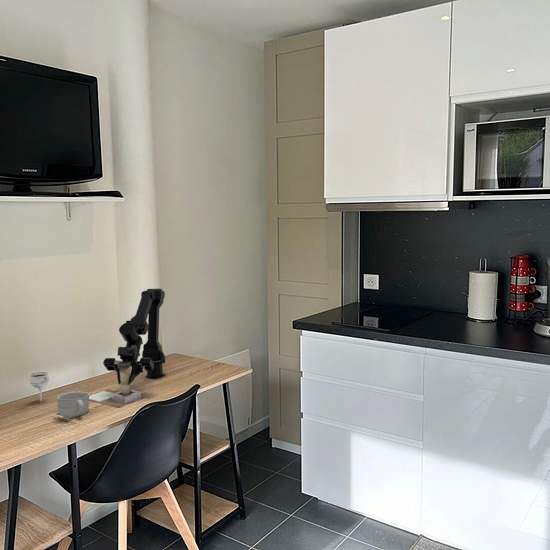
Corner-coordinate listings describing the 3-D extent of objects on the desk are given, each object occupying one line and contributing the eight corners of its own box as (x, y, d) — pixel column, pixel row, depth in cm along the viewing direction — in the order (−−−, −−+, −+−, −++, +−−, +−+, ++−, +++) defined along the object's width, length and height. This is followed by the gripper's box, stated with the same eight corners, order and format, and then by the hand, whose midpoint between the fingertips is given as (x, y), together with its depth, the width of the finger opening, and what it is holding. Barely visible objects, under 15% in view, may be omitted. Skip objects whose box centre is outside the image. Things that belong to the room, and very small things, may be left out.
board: (108, 392, 224) (108, 389, 224) (145, 400, 212) (145, 397, 212) (81, 401, 214) (81, 398, 214) (118, 411, 201) (118, 408, 201)
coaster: (103, 392, 221) (103, 391, 221) (118, 395, 216) (118, 394, 215) (84, 398, 213) (84, 397, 213) (99, 402, 208) (99, 401, 208)
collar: (127, 394, 216) (127, 388, 216) (141, 398, 212) (140, 391, 211) (111, 400, 210) (111, 394, 209) (125, 404, 205) (124, 397, 205)
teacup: (57, 414, 200) (55, 393, 200) (88, 408, 205) (86, 388, 204) (61, 427, 188) (59, 404, 187) (94, 420, 193) (92, 398, 192)
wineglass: (33, 409, 207) (30, 378, 206) (30, 404, 213) (27, 374, 212) (52, 405, 211) (50, 374, 210) (48, 400, 217) (46, 371, 215)
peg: (127, 396, 214) (124, 360, 212) (135, 398, 211) (133, 362, 210) (117, 400, 210) (114, 363, 208) (125, 402, 207) (123, 365, 206)
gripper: (103, 337, 213) (92, 373, 203) (149, 337, 211) (141, 373, 201) (112, 352, 222) (103, 387, 212) (157, 352, 220) (150, 387, 210)
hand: (124, 383), depth 209 cm, fingers closed on peg, 4 cm apart
